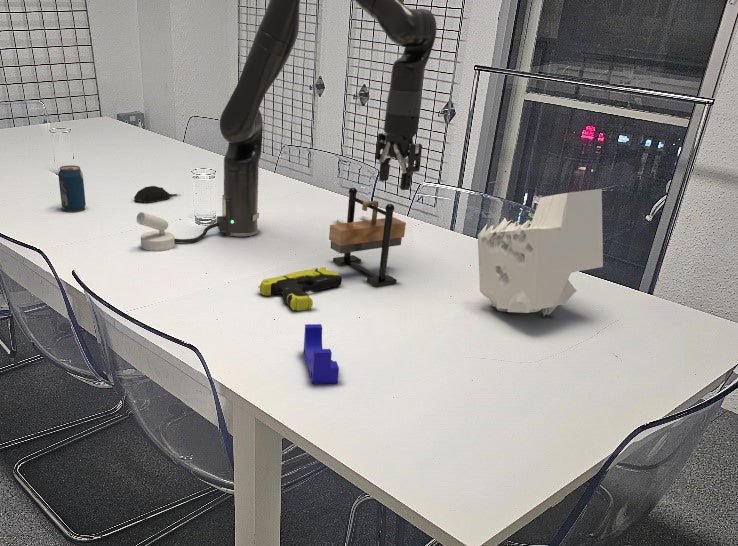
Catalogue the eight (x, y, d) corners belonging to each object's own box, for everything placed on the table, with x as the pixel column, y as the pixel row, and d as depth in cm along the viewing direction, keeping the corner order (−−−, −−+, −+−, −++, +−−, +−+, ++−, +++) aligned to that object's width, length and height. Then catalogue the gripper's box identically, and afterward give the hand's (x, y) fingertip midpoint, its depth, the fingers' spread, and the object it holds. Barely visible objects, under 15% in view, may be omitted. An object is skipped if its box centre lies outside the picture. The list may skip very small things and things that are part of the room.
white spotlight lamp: (127, 209, 188) (158, 202, 194) (130, 246, 193) (159, 238, 199) (149, 216, 183) (180, 209, 189) (151, 254, 188) (181, 245, 194)
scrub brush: (339, 254, 172) (343, 208, 166) (328, 247, 176) (331, 202, 170) (403, 245, 179) (408, 201, 174) (390, 239, 183) (396, 195, 177)
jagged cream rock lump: (533, 326, 148) (528, 197, 143) (477, 323, 162) (470, 205, 157) (604, 311, 157) (602, 188, 151) (545, 309, 171) (541, 197, 165)
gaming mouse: (181, 197, 235) (181, 184, 233) (141, 204, 227) (140, 191, 225) (171, 193, 239) (170, 180, 237) (130, 199, 231) (129, 186, 229)
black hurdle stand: (375, 287, 172) (383, 207, 163) (332, 261, 187) (338, 186, 177) (396, 283, 175) (406, 204, 165) (353, 258, 189) (359, 184, 179)
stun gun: (364, 285, 165) (323, 265, 176) (293, 301, 156) (254, 278, 167) (362, 298, 167) (322, 277, 177) (292, 314, 157) (254, 291, 168)
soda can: (89, 206, 223) (85, 165, 217) (82, 213, 217) (77, 171, 211) (66, 205, 224) (62, 164, 218) (58, 211, 218) (54, 169, 212)
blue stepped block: (337, 383, 132) (340, 352, 129) (312, 383, 131) (314, 353, 128) (326, 353, 142) (329, 324, 139) (303, 353, 142) (305, 324, 139)
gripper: (371, 106, 169) (363, 179, 178) (408, 117, 158) (398, 194, 167) (398, 105, 172) (389, 176, 181) (436, 115, 161) (425, 191, 170)
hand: (393, 185), depth 174 cm, fingers open, 8 cm apart
